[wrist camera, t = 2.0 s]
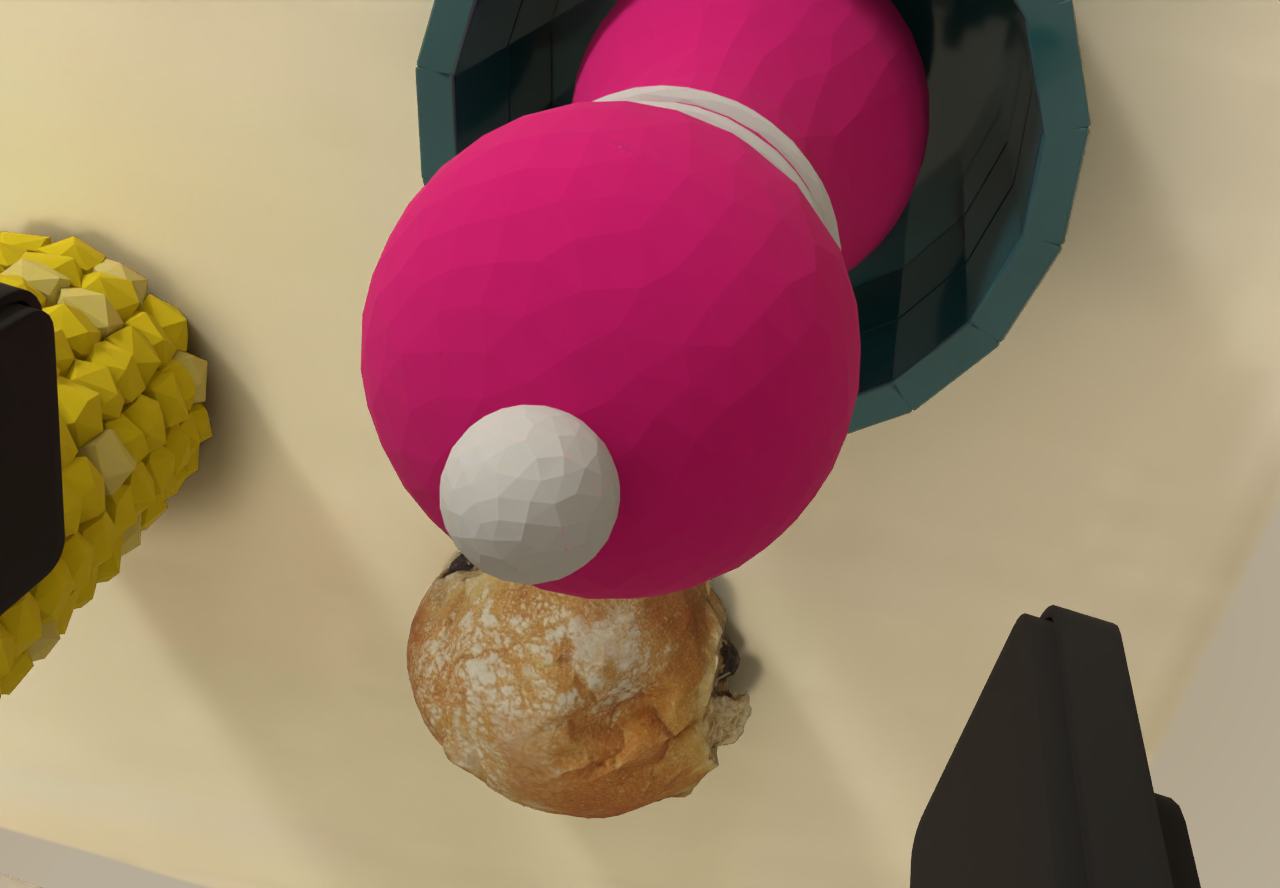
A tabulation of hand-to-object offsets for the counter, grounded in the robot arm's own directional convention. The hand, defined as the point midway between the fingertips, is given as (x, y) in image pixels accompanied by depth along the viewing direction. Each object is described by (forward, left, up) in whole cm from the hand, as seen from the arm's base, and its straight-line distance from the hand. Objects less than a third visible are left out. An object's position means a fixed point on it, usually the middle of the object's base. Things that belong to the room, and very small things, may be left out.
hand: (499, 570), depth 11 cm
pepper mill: (0, 0, -20) cm, 20 cm away
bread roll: (+18, -1, -21) cm, 27 cm away
